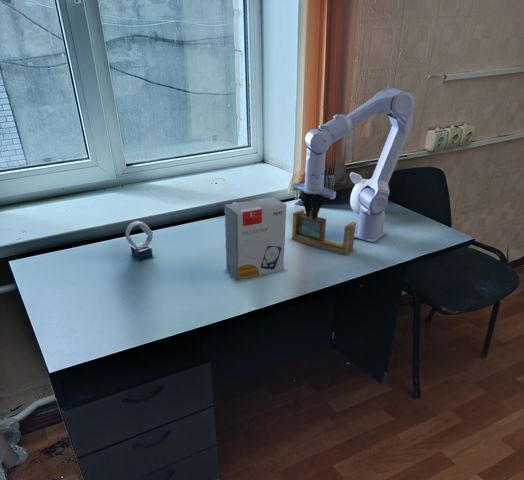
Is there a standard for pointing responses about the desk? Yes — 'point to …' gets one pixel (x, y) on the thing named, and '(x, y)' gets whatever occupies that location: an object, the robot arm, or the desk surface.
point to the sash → (311, 227)
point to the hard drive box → (255, 237)
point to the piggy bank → (356, 191)
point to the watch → (141, 249)
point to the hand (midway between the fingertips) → (311, 216)
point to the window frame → (326, 243)
